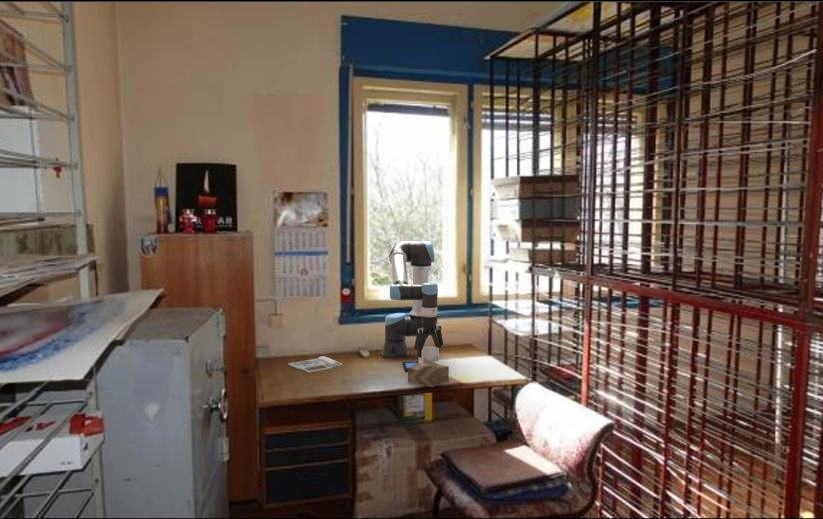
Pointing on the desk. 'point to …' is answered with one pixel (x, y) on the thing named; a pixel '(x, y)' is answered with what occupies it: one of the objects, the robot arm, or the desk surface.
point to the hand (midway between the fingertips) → (428, 362)
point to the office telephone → (315, 364)
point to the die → (429, 354)
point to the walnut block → (428, 374)
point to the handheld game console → (409, 365)
